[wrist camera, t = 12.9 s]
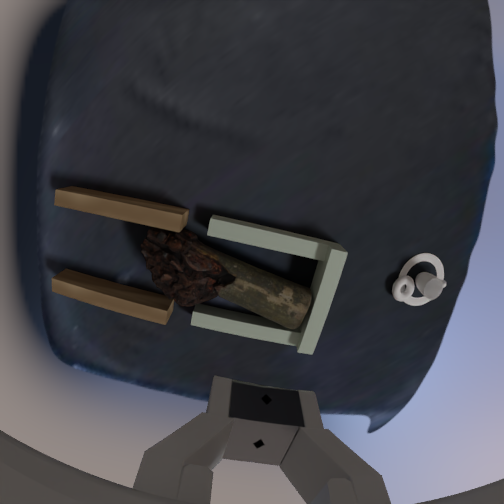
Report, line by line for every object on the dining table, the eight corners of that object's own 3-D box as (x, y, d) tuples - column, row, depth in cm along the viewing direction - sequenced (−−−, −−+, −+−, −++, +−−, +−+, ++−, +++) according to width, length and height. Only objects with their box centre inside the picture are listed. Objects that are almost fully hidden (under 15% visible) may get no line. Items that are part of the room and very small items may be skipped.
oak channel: (71, 186, 38) (55, 189, 34) (189, 209, 38) (182, 215, 35) (65, 281, 41) (52, 291, 38) (172, 310, 42) (165, 324, 38)
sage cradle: (213, 214, 39) (208, 220, 35) (339, 243, 40) (347, 252, 36) (194, 315, 43) (188, 330, 39) (308, 338, 43) (312, 354, 40)
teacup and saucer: (383, 298, 42) (394, 311, 38) (402, 245, 40) (415, 253, 36) (430, 307, 43) (442, 320, 39) (449, 258, 40) (463, 267, 37)
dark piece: (309, 282, 41) (318, 305, 35) (280, 329, 43) (283, 357, 37) (161, 211, 39) (144, 222, 32) (140, 265, 41) (121, 284, 34)
